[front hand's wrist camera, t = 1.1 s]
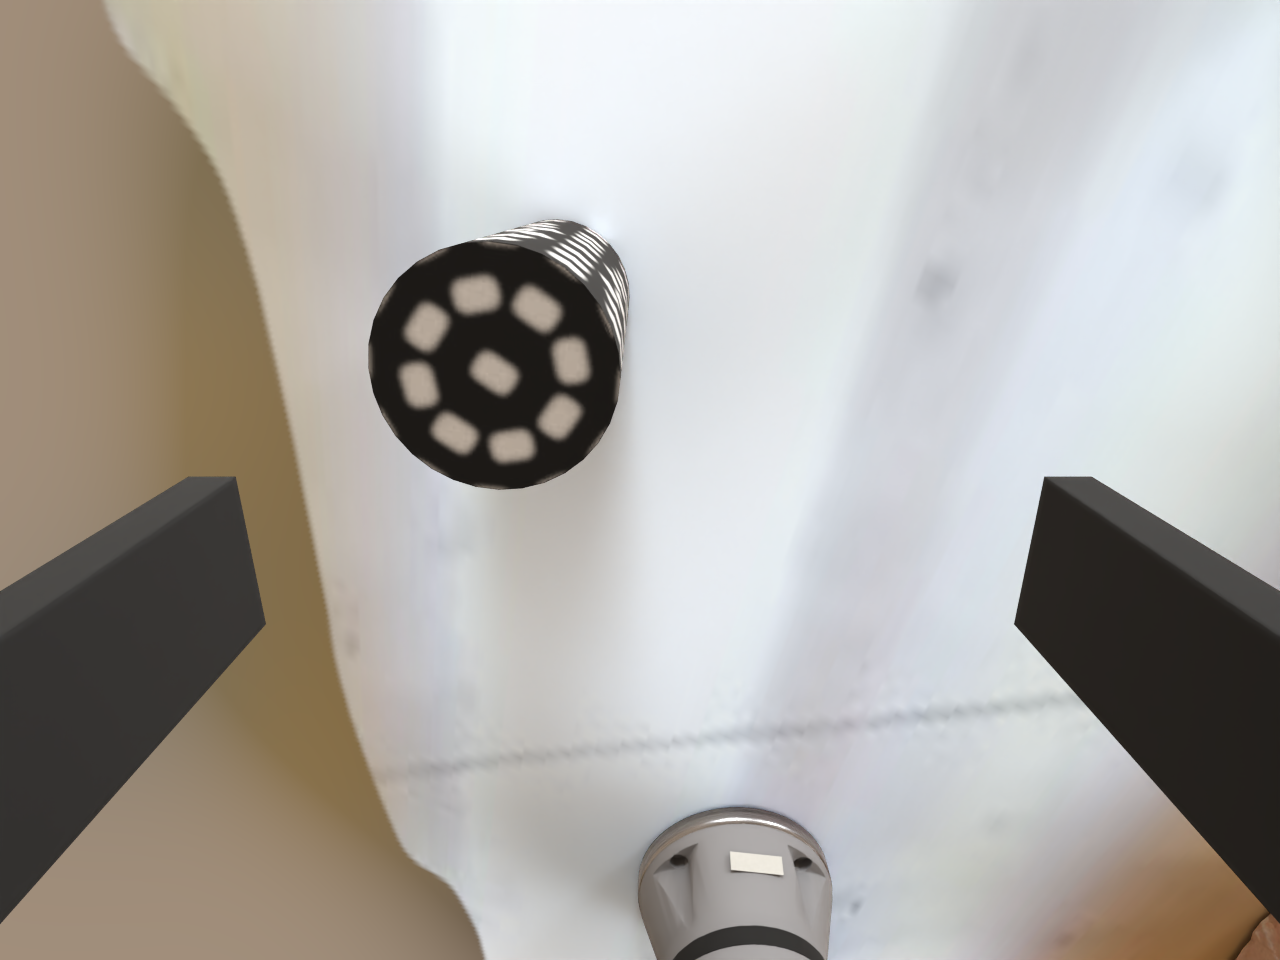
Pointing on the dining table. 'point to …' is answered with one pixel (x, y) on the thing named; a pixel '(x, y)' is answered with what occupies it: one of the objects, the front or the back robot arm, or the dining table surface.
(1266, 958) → the stone
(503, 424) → the black white spotted cylinder
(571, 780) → the dining table surface
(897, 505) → the dining table surface
